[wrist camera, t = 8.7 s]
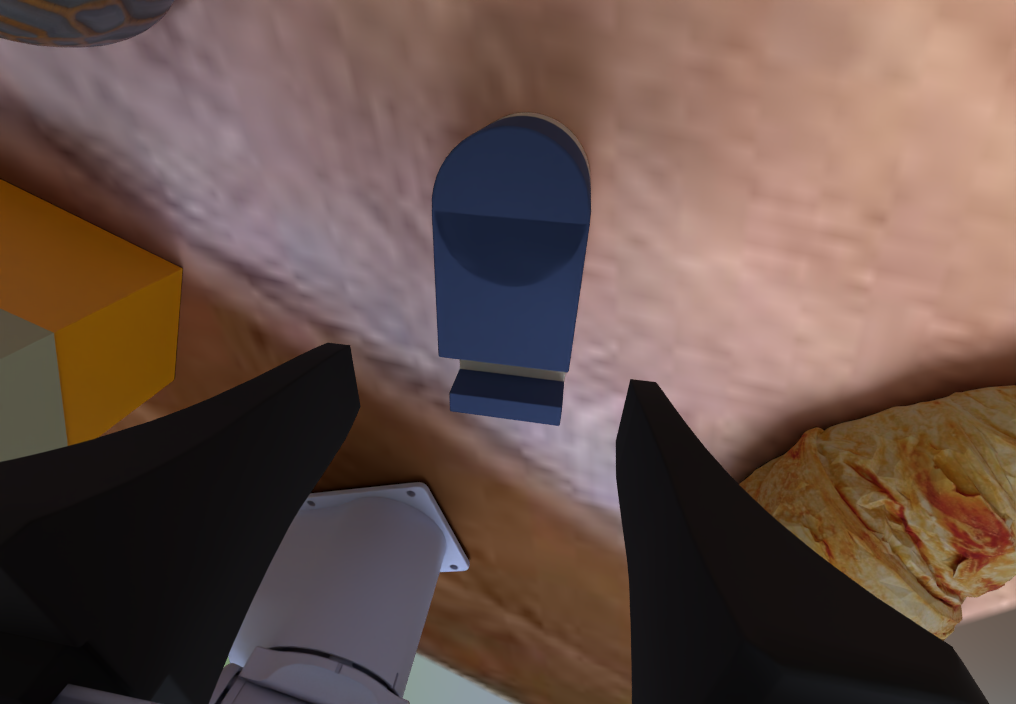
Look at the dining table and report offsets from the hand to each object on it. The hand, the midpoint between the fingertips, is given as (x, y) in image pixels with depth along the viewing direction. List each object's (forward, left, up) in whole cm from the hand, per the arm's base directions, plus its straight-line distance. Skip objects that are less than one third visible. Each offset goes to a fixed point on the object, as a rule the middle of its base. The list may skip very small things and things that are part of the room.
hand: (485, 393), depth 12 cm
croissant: (+12, -15, -8) cm, 20 cm away
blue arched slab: (0, 0, -8) cm, 8 cm away
